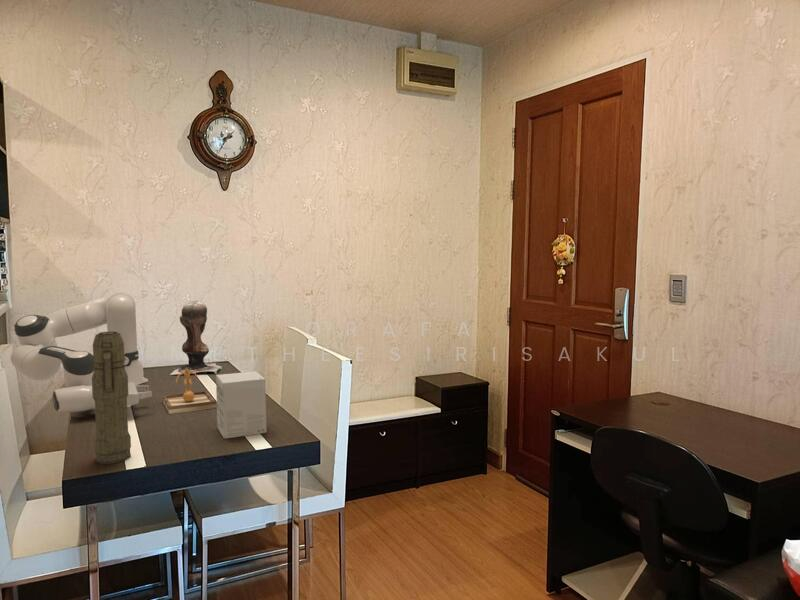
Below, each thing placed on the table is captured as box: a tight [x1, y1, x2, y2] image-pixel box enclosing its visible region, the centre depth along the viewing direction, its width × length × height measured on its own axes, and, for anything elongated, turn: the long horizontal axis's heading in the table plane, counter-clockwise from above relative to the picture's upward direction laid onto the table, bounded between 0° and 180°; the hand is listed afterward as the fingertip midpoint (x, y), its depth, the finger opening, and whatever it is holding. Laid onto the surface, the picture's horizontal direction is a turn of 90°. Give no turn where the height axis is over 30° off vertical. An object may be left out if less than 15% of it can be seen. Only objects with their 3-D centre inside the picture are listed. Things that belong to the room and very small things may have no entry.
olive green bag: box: [92, 331, 132, 465], centre depth 156 cm, size 9×12×35 cm
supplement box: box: [215, 370, 268, 439], centre depth 181 cm, size 13×13×18 cm
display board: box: [162, 390, 217, 415], centre depth 211 cm, size 18×16×2 cm
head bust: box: [169, 300, 223, 376], centre depth 271 cm, size 22×25×35 cm
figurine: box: [175, 369, 200, 402], centre depth 211 cm, size 8×6×12 cm
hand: (150, 390), depth 204 cm, fingers open, 8 cm apart
